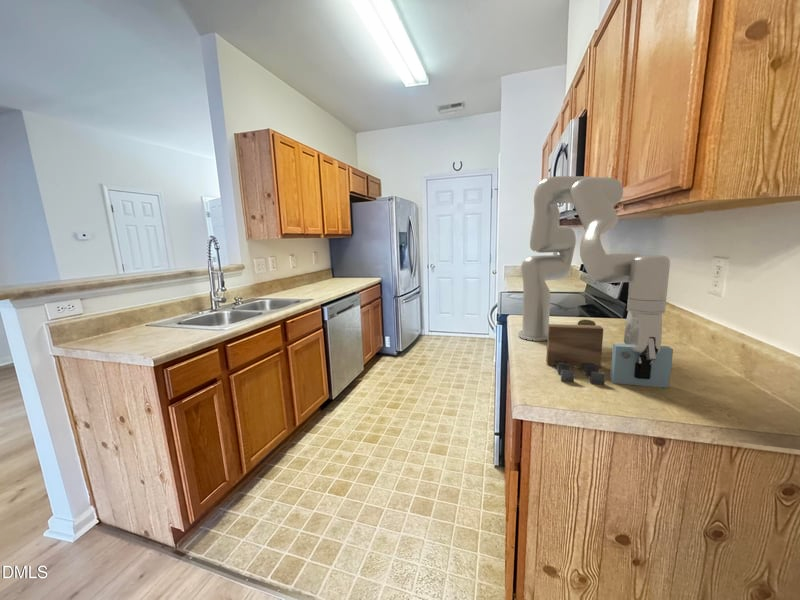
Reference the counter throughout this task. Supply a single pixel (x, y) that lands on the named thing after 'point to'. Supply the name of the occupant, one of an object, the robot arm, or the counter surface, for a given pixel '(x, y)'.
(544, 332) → the robot arm
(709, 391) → the counter surface
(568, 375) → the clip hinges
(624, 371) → the block
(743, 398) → the counter surface
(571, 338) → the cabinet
